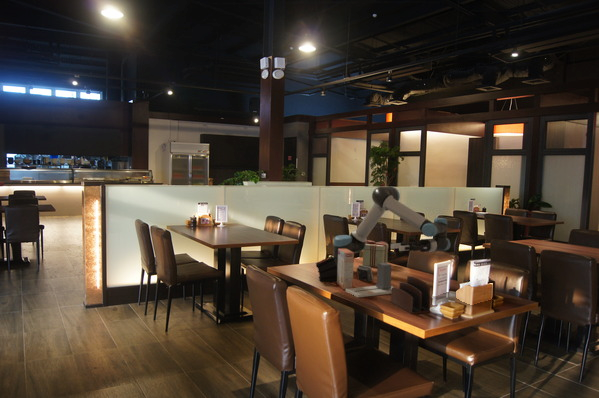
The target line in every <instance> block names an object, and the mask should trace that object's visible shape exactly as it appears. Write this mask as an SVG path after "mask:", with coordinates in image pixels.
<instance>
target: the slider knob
mask: <svg viewBox="0 0 599 398" xmlns="http://www.w3.org/2000/svg"><path fill="white" fill-rule="evenodd" d="M376 268H377V270H376V284H375V286H376V287H378V288H381V289H390V288H391V286H392V264H391V263H388V262H387V263H378V265H377V267H376Z"/></svg>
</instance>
